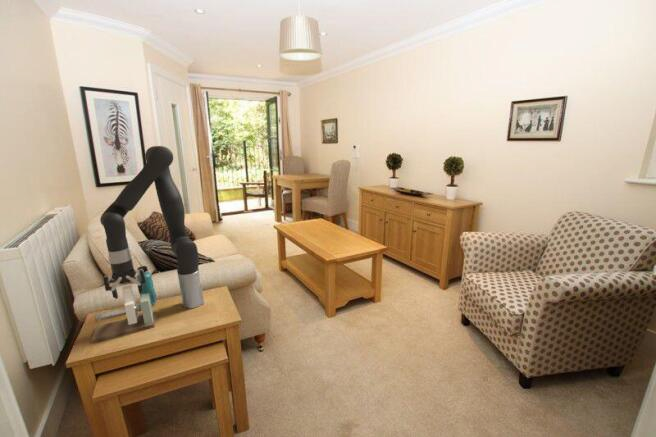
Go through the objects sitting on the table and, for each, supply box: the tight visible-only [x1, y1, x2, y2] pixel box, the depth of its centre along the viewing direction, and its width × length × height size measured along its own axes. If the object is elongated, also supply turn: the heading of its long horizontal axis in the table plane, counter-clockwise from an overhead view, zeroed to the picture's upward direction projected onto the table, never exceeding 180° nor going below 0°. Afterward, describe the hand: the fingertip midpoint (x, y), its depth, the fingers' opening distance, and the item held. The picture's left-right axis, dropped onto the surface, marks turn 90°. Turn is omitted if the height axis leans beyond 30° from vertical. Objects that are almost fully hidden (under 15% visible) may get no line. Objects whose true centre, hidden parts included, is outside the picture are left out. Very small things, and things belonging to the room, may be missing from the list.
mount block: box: [139, 293, 154, 324], centre depth 135 cm, size 3×8×10 cm, turn 27°
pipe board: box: [91, 311, 156, 344], centre depth 133 cm, size 22×11×2 cm, turn 117°
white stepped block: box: [121, 284, 140, 325], centre depth 132 cm, size 3×9×15 cm, turn 27°
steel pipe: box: [95, 303, 142, 321], centre depth 131 cm, size 18×3×3 cm, turn 117°
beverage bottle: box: [136, 265, 158, 305], centre depth 149 cm, size 6×7×20 cm
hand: (128, 295), depth 131 cm, fingers open, 8 cm apart
